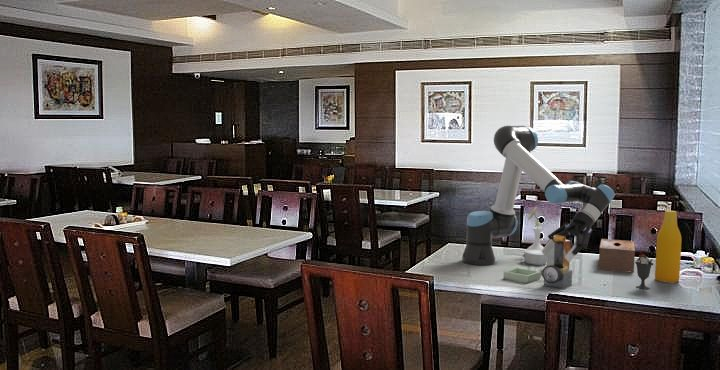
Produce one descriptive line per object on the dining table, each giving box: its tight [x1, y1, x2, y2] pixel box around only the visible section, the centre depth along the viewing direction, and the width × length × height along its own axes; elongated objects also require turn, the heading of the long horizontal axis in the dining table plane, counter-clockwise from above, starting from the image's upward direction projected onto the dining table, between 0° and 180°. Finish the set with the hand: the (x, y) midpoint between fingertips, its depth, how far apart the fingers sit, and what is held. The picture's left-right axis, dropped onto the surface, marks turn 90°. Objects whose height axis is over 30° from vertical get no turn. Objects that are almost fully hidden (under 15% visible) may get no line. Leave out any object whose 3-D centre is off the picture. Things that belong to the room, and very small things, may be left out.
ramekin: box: [523, 249, 547, 266], centre depth 291 cm, size 11×11×5 cm
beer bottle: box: [654, 210, 683, 283], centre depth 258 cm, size 9×9×29 cm
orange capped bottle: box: [553, 235, 567, 269], centre depth 247 cm, size 5×5×14 cm
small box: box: [546, 239, 572, 268], centre depth 278 cm, size 8×6×13 cm
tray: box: [503, 267, 542, 284], centre depth 259 cm, size 11×11×3 cm
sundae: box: [634, 249, 654, 291], centre depth 245 cm, size 7×7×15 cm
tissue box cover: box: [598, 238, 636, 273], centre depth 287 cm, size 26×14×10 cm, turn 157°
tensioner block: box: [541, 265, 573, 290], centre depth 247 cm, size 8×11×9 cm
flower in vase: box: [525, 205, 545, 250], centre depth 305 cm, size 13×11×25 cm
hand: (554, 256), depth 246 cm, fingers open, 13 cm apart
